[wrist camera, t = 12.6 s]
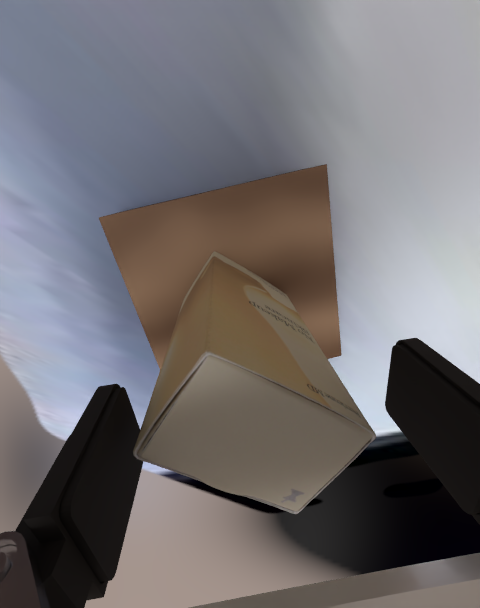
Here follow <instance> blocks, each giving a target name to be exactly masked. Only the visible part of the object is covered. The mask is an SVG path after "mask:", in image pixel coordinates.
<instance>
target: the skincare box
mask: <svg viewBox="0 0 480 608" xmlns="http://www.w3.org/2000/svg"><path fill="white" fill-rule="evenodd" d="M375 438H376V435H375V432H374V431H373V430H372V428H371V427H370V425H369V424H368V422H367V421H366V419H365V418H364V416H363V415H362V413H361V411H360V410H359V408H358V407H357V405H356V404H355V402H354V400H353V399H352V397H351V396H350V394H349V393H348V391H347V389H346V388H345V386H344V385H343V383H342V382H341V380H340V378H339V377H338V375H337V374H336V372H335V371H334V369H333V367H332V366H331V364H330V363H329V361H328V359H327V358H326V356H325V355H324V353H323V352H322V350H321V348H320V347H319V345H318V344H317V342H316V340H315V339H314V337H313V336H312V334H311V333H310V331H309V329H308V328H307V326H306V325H305V323H304V322H303V320H302V319H301V317H300V315H299V314H298V312H297V310H296V309H295V307H294V306H293V304H292V302H291V301H290V299H289V298H288V296H287V295H286V294H285V293H283V292H282V291H280V290H279V289H277V288H276V287H274V286H273V285H271V284H270V283H268V282H267V281H265V280H264V279H262V278H261V277H259V276H257V275H256V274H254V273H252V272H251V271H249V270H247V269H246V268H244V267H242V266H240V265H239V264H237V263H235V262H234V261H232V260H230V259H228V258H226V257H225V256H223V255H221V254H219V253H218V252H215V251H214V252H213V253H212V254H211V256H210V258H209V259H208V261H207V262H206V264H205V265H204V267H203V268H202V270H201V271H200V273H199V275H198V276H197V278H196V279H195V281H194V282H193V284H192V286H191V288H190V289H189V291H188V293H187V294H186V296H185V298H184V300H183V303H182V306H181V309H180V312H179V315H178V318H177V321H176V324H175V327H174V330H173V333H172V336H171V339H170V342H169V345H168V348H167V351H166V355H165V358H164V361H163V364H162V367H161V370H160V373H159V376H158V379H157V382H156V385H155V388H154V391H153V394H152V397H151V400H150V403H149V406H148V409H147V412H146V415H145V418H144V421H143V424H142V427H141V430H140V433H139V436H138V439H137V442H136V444H135V447H134V450H133V454H134V456H135V457H136V458H137V459H139V460H141V461H145V462H148V463H151V464H154V465H157V466H160V467H162V468H165V469H168V470H171V471H174V472H177V473H179V474H182V475H185V476H188V477H191V478H194V479H197V480H199V481H202V482H204V483H206V484H207V485H210V486H212V487H214V488H217V489H219V490H222V491H225V492H229V493H232V494H237V495H242V496H245V497H249V498H252V499H254V500H257V501H260V502H263V503H266V504H268V505H272V506H275V507H277V508H280V509H282V510H285V511H288V512H290V513H293V514H297V513H299V512H300V511H301V510H302V509H303V508H304V507H305V506H306V505H307V504H308V503H309V502H310V501H311V500H312V499H313V498H315V497H316V496H317V495H318V494H319V493H320V492H321V491H322V490H323V489H324V488H325V487H326V486H327V485H328V484H329V483H330V482H331V481H333V479H334V478H336V477H337V476H338V475H339V474H340V473H341V472H342V471H343V470H344V469H345V468H346V467H347V466H348V465H349V464H350V463H351V462H352V461H353V460H355V459H356V458H357V456H358V455H359V454H360V453H361V452H362V451H363V450H364V449H365V448H366V447H367V446H368V445H369V444H370V443H371V442H372V441H373V440H374V439H375Z"/></svg>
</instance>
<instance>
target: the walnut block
mask: <svg viewBox="0 0 480 608" xmlns="http://www.w3.org/2000/svg"><path fill="white" fill-rule="evenodd" d="M99 220H100V222H101V225H102V227H103V230H104V232H105V235H106V237H107V240H108V242H109V245H110V247H111V250H112V252H113V255H114V257H115V259H116V262H117V264H118V267H119V269H120V272H121V274H122V277H123V279H124V282H125V284H126V287H127V289H128V291H129V294H130V296H131V299H132V301H133V304H134V306H135V309H136V311H137V314H138V316H139V319H140V321H141V324H142V326H143V328H144V331H145V333H146V336H147V338H148V341H149V343H150V346H151V348H152V351H153V353H154V356H155V358H156V360H157V363H158V365H159V368H160V370H161V367H162V364H163V361H164V358H165V355H166V351H167V348H168V345H169V342H170V339H171V336H172V333H173V330H174V327H175V324H176V321H177V318H178V315H179V312H180V309H181V306H182V303H183V300H184V298H185V296H186V294H187V293H188V291H189V289H190V288H191V286H192V284H193V282H194V281H195V279H196V278H197V276H198V275H199V273H200V271H201V270H202V268H203V267H204V265H205V264H206V262H207V261H208V259H209V258H210V256H211V254H212V253H213V252H214V251H215V252H218V253H219V254H221V255H223V256H225V257H226V258H228V259H230V260H232V261H234V262H235V263H237V264H239V265H240V266H242V267H244V268H246V269H247V270H249V271H251V272H252V273H254V274H256V275H257V276H259V277H261V278H262V279H264V280H265V281H267V282H268V283H270V284H271V285H273V286H274V287H276V288H277V289H279V290H280V291H282V292H283V293H285V294H286V295H287V296H288V298H289V299H290V301H291V302H292V304H293V306H294V307H295V309H296V310H297V312H298V314H299V315H300V317H301V319H302V320H303V322H304V323H305V325H306V326H307V328H308V329H309V331H310V333H311V334H312V336H313V337H314V339H315V340H316V342H317V344H318V345H319V347H320V348H321V350H322V352H323V353H324V355H325V356H326V358H327V359H329V358H333V357H337V356H341V343H340V330H339V317H338V304H337V292H336V279H335V266H334V253H333V240H332V227H331V214H330V201H329V188H328V175H327V164H326V165H321V166H316V167H311V168H307V169H302V170H298V171H293V172H289V173H285V174H281V175H276V176H272V177H268V178H264V179H259V180H255V181H251V182H247V183H242V184H238V185H234V186H229V187H225V188H221V189H217V190H212V191H208V192H204V193H200V194H195V195H191V196H187V197H183V198H178V199H174V200H170V201H165V202H161V203H157V204H153V205H148V206H144V207H140V208H136V209H131V210H127V211H123V212H119V213H115V214H111V215H107V216H103V217H100V218H99Z"/></svg>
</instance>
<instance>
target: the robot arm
mask: <svg viewBox="0 0 480 608" xmlns="http://www.w3.org/2000/svg"><path fill="white" fill-rule="evenodd" d="M385 406H386V410H387V412H388V414H389V415H390V417H391V418H392V419H393V420H394V422H395V423H396V424H397V426H398V427H399V428H400V430H401V431H402V432H403V433H404V435H405V436H406V437H407V439H408V440H409V441H410V442H411V444H412V445H413V446H414V448H415V449H416V450H417V451H418V453H419V454H420V455H421V457H422V458H423V459H424V460H425V462H426V463H427V464H428V466H429V467H430V468H431V469H432V471H433V472H434V473H435V475H436V476H437V477H438V479H439V480H440V481H441V482H442V484H443V485H444V486H445V488H446V489H447V490H448V491H449V493H450V494H451V495H452V497H453V498H454V499H455V500H456V502H457V503H458V504H459V506H460V507H461V508H462V509H463V510H464V511H465V512H466V513H468V514H472V516H473V517H474V518H475V519H476V521H477V522H478V523H479V524H480V384H479V383H478V382H476V381H475V380H474V379H472V378H471V377H470V376H468V375H467V374H465V373H464V372H463V371H461V370H460V369H459V368H457V367H456V366H455V365H453V364H452V363H451V362H449V361H448V360H447V359H445V358H444V357H442V356H441V355H440V354H438V353H437V352H436V351H434V350H433V349H432V348H430V347H429V346H428V345H426V344H425V343H424V342H422V341H421V340H419V339H417V338H411V339H405V340H399V341H398V342H397V343H396V345H395V346H393V348H392V354H391V362H390V370H389V378H388V386H387V394H386V401H385ZM139 433H140V428H139V425H138V423H137V420H136V417H135V414H134V412H133V409H132V406H131V403H130V400H129V398H128V395H127V392H126V390H125V388H124V387H122V388H120V386H119V385H118V384H112V385H106V386H100V387H98V388H97V390H96V391H95V393H94V395H93V397H92V399H91V400H90V402H89V404H88V406H87V407H86V409H85V411H84V413H83V415H82V416H81V418H80V420H79V422H78V423H77V425H76V427H75V429H74V430H73V432H72V434H71V435H70V436H69V438H68V439H67V441H66V443H65V444H64V446H63V448H62V450H61V451H60V453H59V455H58V457H57V458H56V460H55V462H54V464H53V465H52V467H51V469H50V471H49V473H48V474H47V476H46V478H45V480H44V481H43V484H42V485H41V487H40V488H39V490H38V492H37V494H36V496H35V497H34V499H33V501H32V502H31V504H30V506H29V508H28V509H27V511H26V513H25V515H24V517H23V518H22V520H21V522H20V524H19V525H18V527H17V529H16V531H8V532H3V533H0V608H84V606H85V603H86V600H91V599H96V598H102V597H104V594H105V591H106V587H107V583H108V581H110V580H112V579H113V577H114V576H115V573H116V570H117V565H118V562H119V558H120V554H121V550H122V546H123V542H124V537H125V533H126V529H127V525H128V521H129V517H130V513H131V509H132V505H133V501H134V496H135V493H136V489H137V485H138V481H139V477H140V473H141V469H142V465H143V461H141V460H139V459H137V458H136V457H135V456H134V454H133V450H134V447H135V444H136V442H137V439H138V436H139ZM191 608H480V553H476V554H471V555H465V556H460V557H455V558H449V559H444V560H438V561H432V562H427V563H421V564H416V565H410V566H405V567H399V568H394V569H389V570H384V571H379V572H373V573H368V574H362V575H357V576H352V577H346V578H341V579H336V580H330V581H325V582H320V583H315V584H309V585H304V586H299V587H293V588H288V589H283V590H278V591H272V592H267V593H262V594H257V595H252V596H247V597H241V598H236V599H231V600H226V601H221V602H216V603H211V604H206V605H200V606H195V607H191Z"/></svg>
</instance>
